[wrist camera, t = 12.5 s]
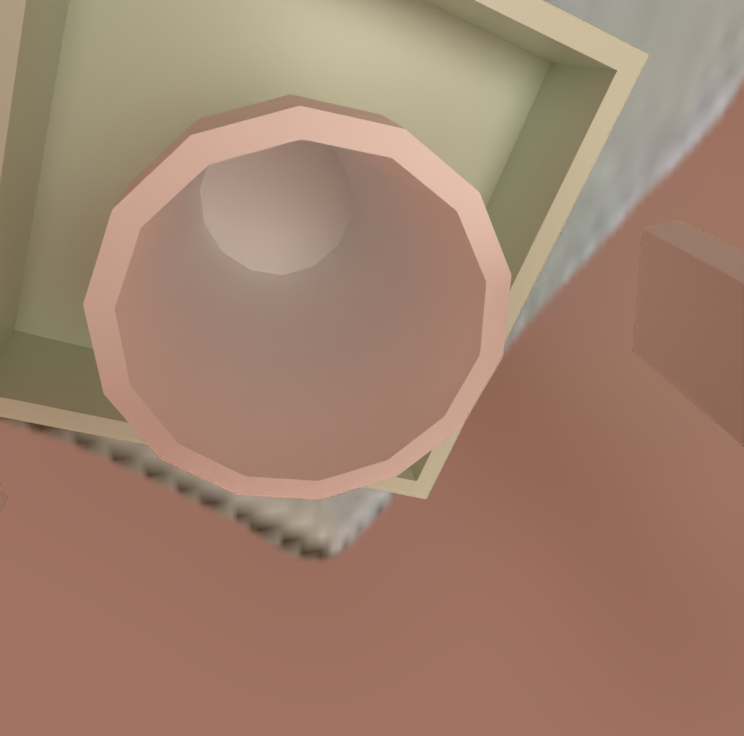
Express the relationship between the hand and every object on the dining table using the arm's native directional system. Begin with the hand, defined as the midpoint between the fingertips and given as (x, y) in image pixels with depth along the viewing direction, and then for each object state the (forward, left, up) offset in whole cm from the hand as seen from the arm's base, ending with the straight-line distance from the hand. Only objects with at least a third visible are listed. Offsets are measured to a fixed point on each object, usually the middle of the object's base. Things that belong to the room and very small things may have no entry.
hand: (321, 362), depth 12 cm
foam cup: (0, 0, -15) cm, 15 cm away
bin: (0, 0, -16) cm, 16 cm away
